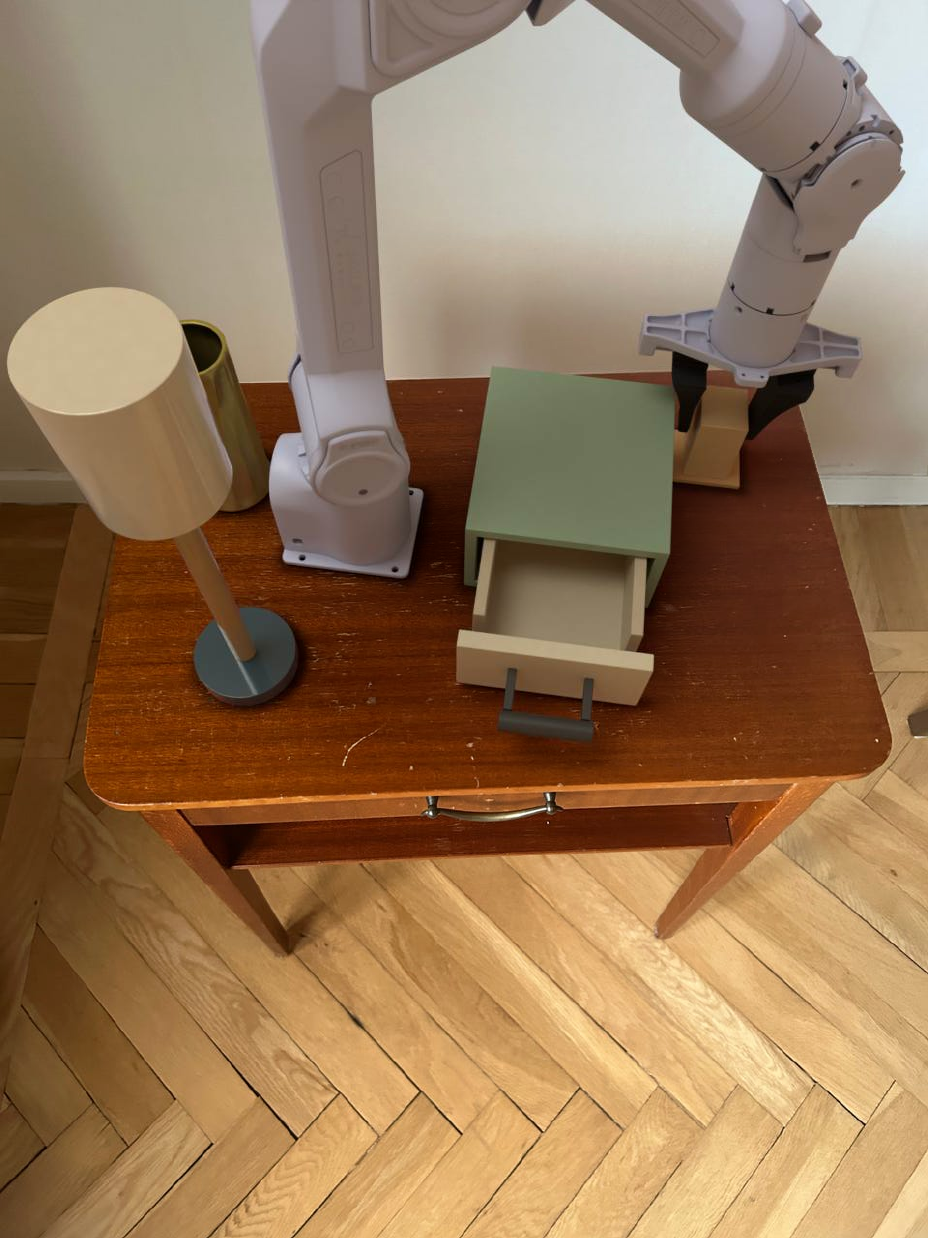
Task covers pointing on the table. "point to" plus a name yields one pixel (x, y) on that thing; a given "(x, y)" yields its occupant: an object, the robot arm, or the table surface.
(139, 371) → the lamp
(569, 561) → the drawer
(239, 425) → the vase
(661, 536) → the cabinet
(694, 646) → the table surface
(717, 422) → the tan wooden block
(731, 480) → the pad
